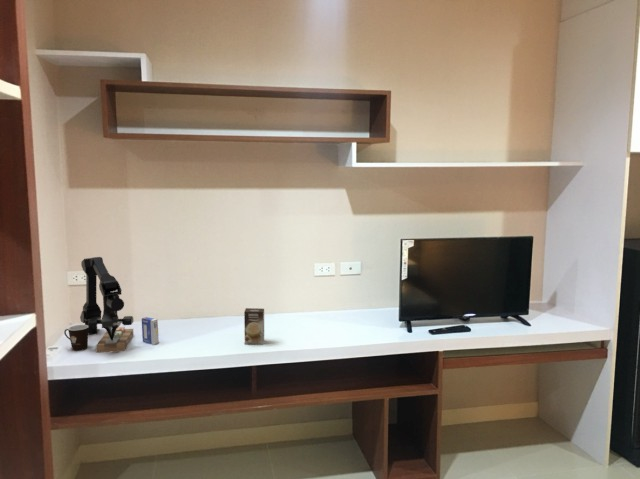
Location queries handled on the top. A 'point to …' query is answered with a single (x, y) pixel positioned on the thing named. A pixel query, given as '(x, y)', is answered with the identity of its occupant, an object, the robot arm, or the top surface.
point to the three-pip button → (117, 334)
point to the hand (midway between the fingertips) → (112, 339)
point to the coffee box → (254, 326)
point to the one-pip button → (115, 340)
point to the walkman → (150, 330)
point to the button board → (115, 347)
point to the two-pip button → (120, 329)
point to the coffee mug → (78, 337)
